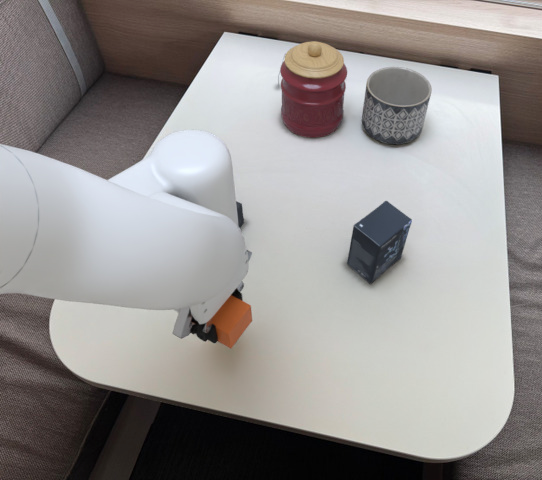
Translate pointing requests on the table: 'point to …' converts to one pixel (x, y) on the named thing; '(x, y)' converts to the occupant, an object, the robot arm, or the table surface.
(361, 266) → the box
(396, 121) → the planter
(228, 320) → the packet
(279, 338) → the table surface
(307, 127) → the kitchen canister
